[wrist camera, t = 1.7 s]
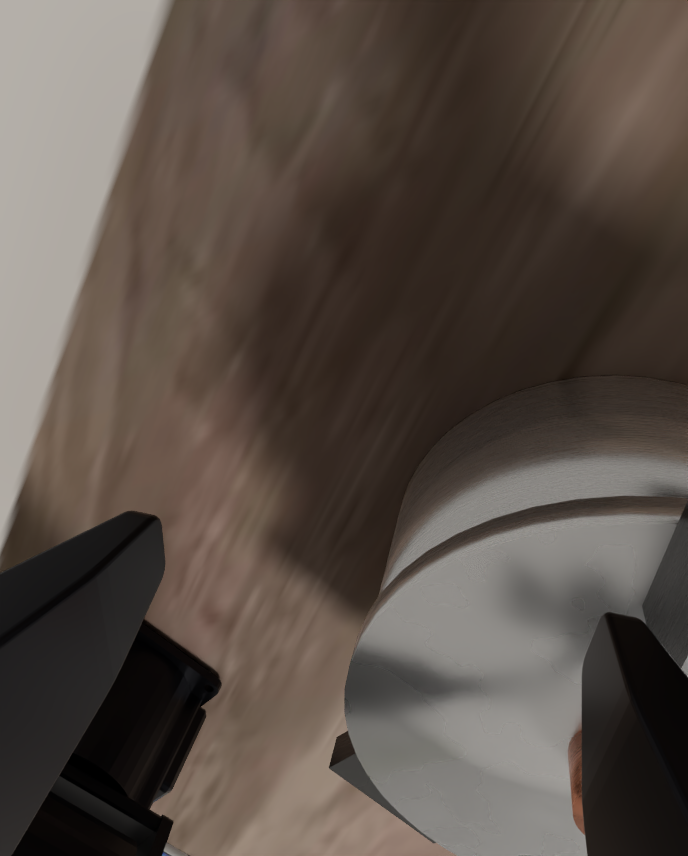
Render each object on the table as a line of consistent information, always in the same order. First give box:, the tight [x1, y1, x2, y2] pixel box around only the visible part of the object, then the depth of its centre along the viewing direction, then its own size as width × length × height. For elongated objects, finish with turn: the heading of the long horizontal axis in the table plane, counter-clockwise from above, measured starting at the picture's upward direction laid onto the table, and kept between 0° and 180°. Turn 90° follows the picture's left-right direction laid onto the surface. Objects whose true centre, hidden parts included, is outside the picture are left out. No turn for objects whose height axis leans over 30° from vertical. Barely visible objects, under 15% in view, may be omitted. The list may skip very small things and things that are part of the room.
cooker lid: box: [345, 496, 688, 856], centre depth 14 cm, size 20×15×3 cm
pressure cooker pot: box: [329, 375, 688, 843], centre depth 19 cm, size 25×14×6 cm, turn 141°
